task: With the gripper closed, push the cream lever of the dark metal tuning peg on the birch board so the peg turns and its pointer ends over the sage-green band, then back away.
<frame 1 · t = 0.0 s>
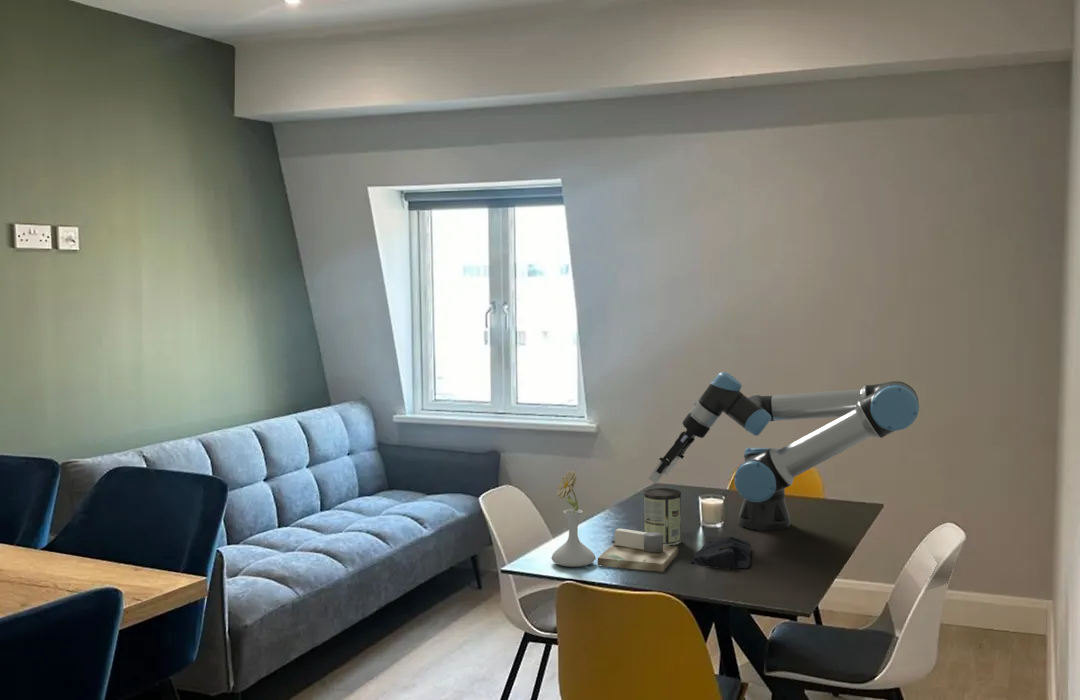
hand: (657, 476, 293), 15 cm above the table, tool tilted 35°, fingers open, 13 cm apart
flower in vase: (573, 566, 256), on the table
peg: (637, 539, 263), point 4 cm above the table, hinge at -15.0°
board: (638, 559, 260), on the table
dark slate chunk: (724, 559, 262), on the table
coffee can: (662, 542, 278), on the table
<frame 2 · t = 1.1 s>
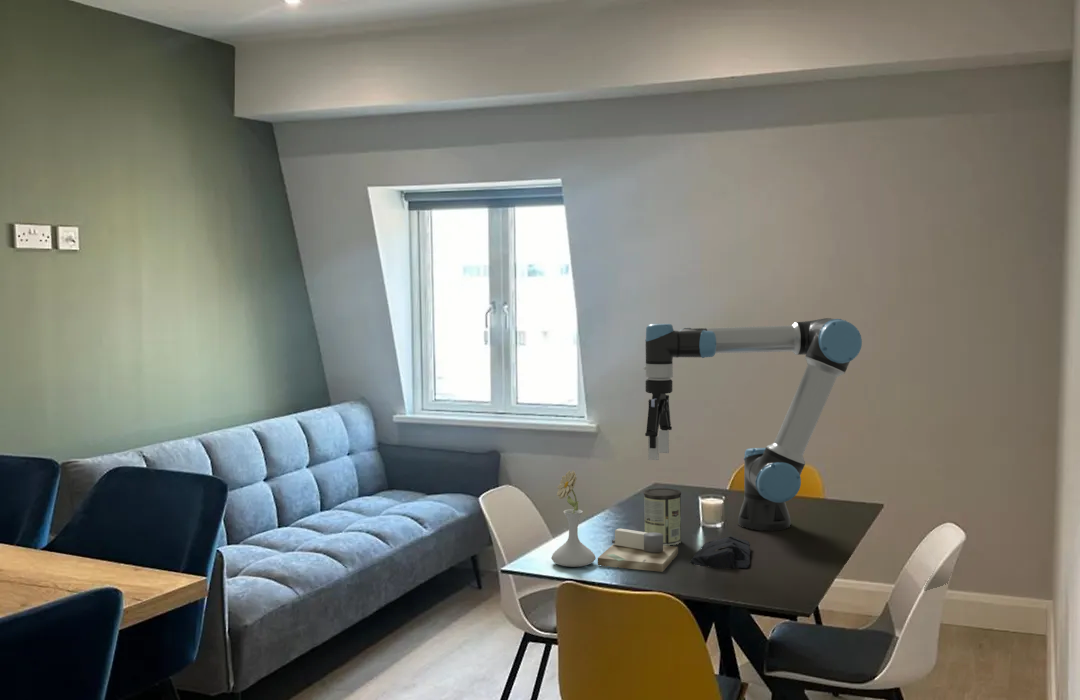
hand: (658, 456, 281), 23 cm above the table, tool pointing down, fingers open, 11 cm apart
nothing on the table moved.
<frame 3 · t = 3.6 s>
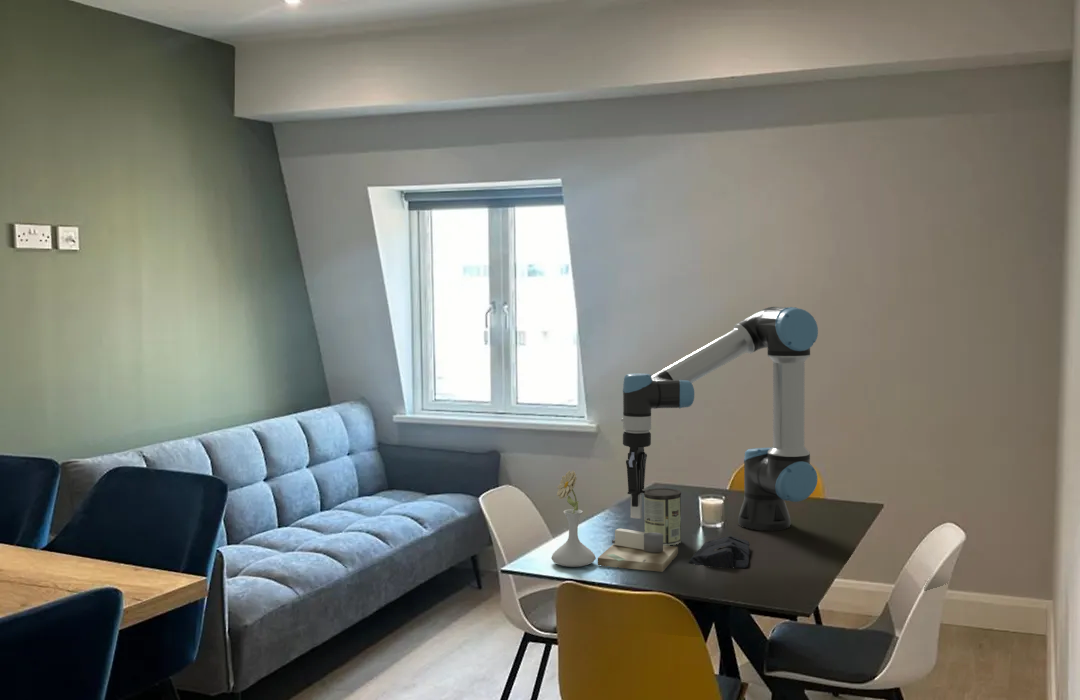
hand: (636, 517, 270), 9 cm above the table, tool pointing down, fingers closed
nothing on the table moved.
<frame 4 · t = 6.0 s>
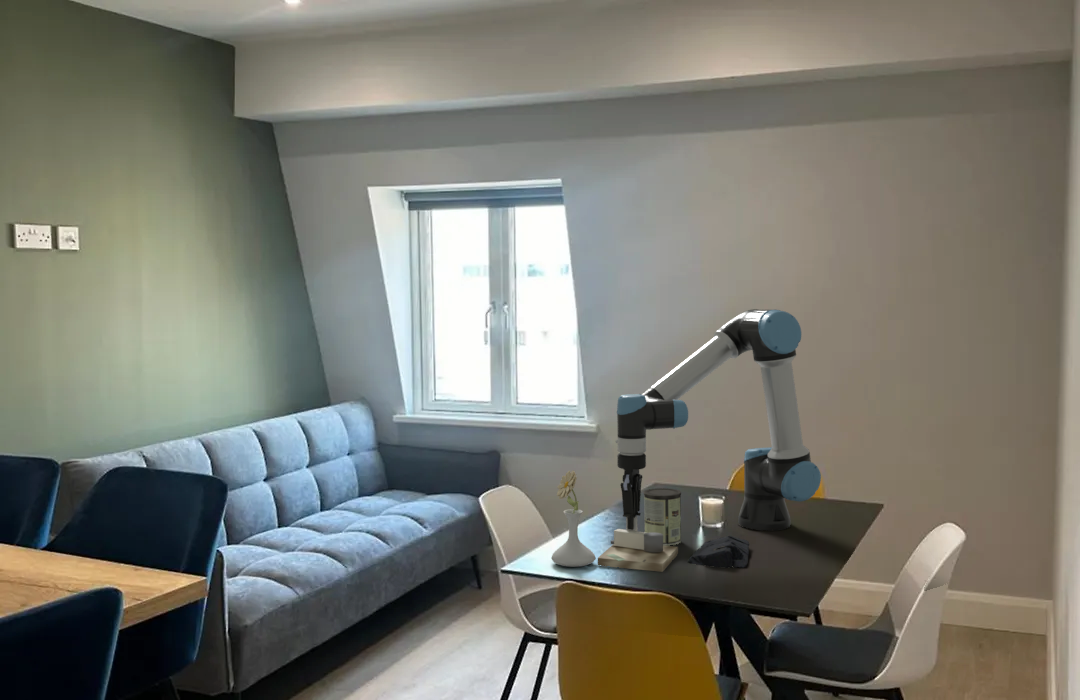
hand: (631, 540, 266), 4 cm above the table, tool pointing down, fingers closed
peg: (636, 540, 263), point 4 cm above the table, hinge at -11.5°, touching gripper
everything else where it was.
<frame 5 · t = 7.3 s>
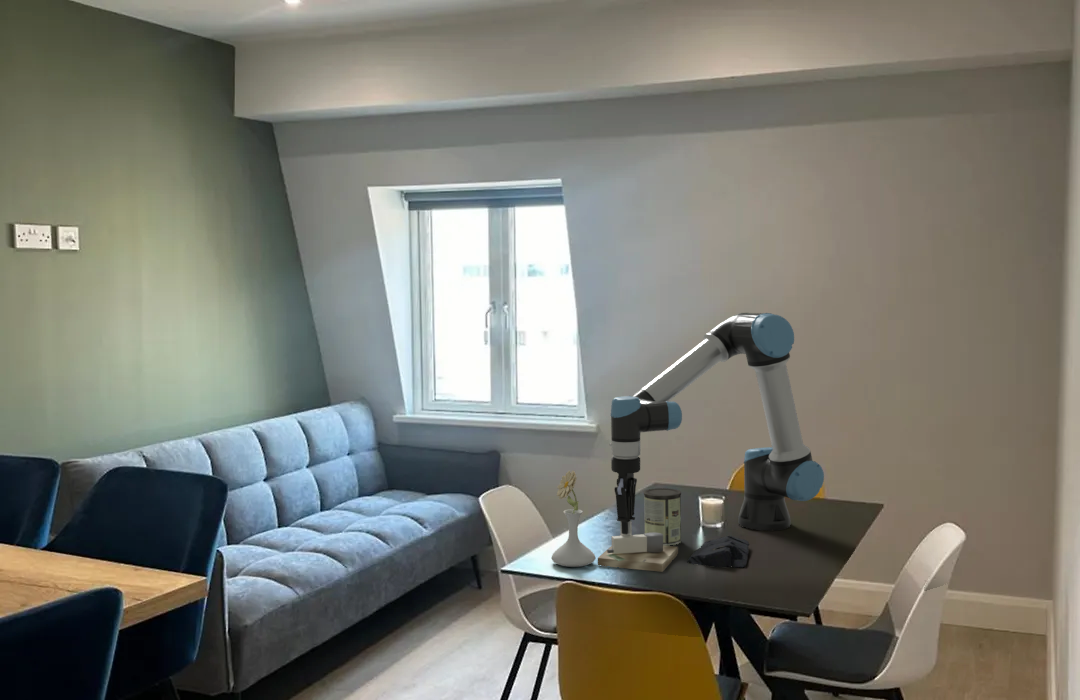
hand: (626, 545, 262), 4 cm above the table, tool pointing down, fingers closed
peg: (635, 543, 259), point 4 cm above the table, hinge at 32.4°, touching gripper
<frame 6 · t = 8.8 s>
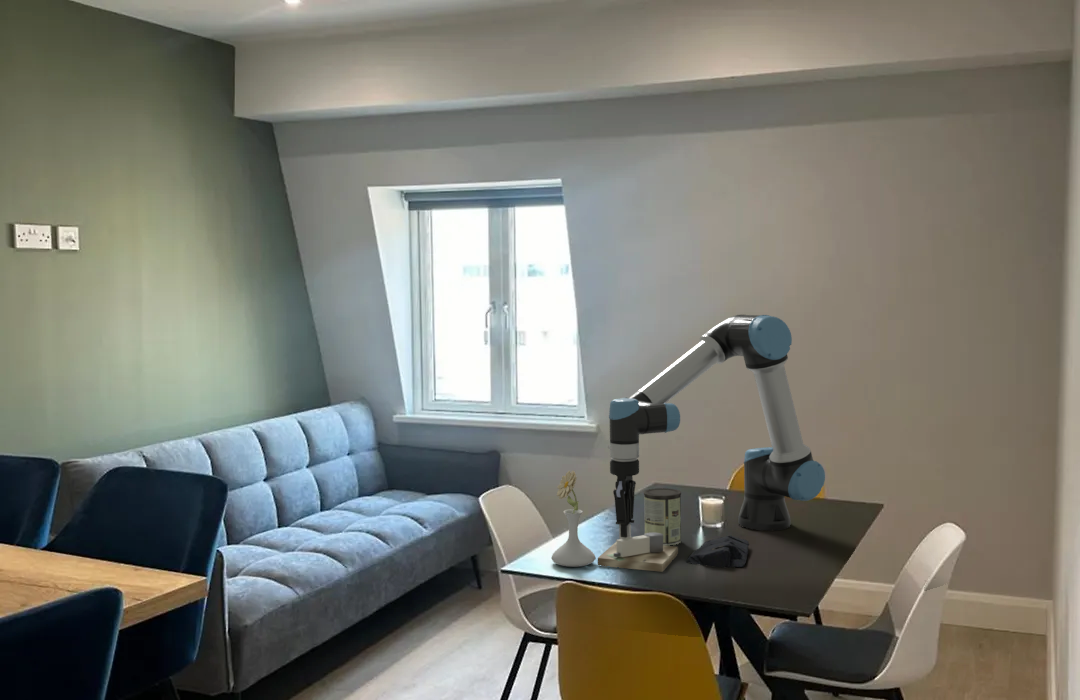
hand: (625, 548, 259), 3 cm above the table, tool pointing down, fingers closed
peg: (638, 545, 258), point 4 cm above the table, hinge at 51.9°, touching gripper
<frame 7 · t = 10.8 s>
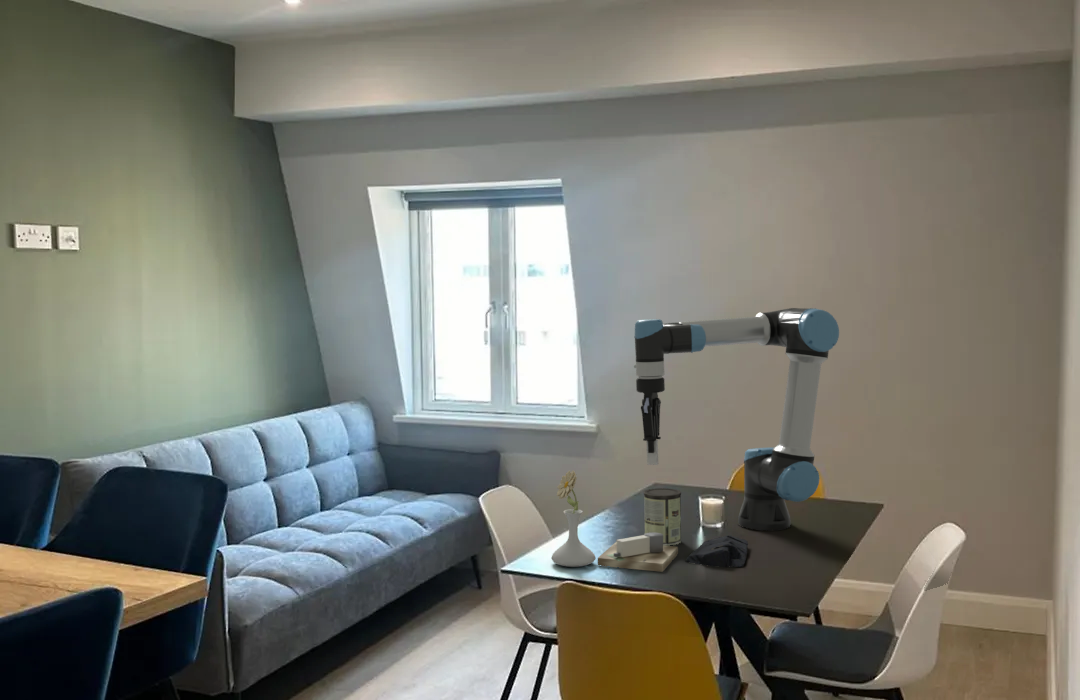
hand: (652, 464, 269), 23 cm above the table, tool pointing down, fingers closed
peg: (638, 545, 258), point 4 cm above the table, hinge at 52.0°
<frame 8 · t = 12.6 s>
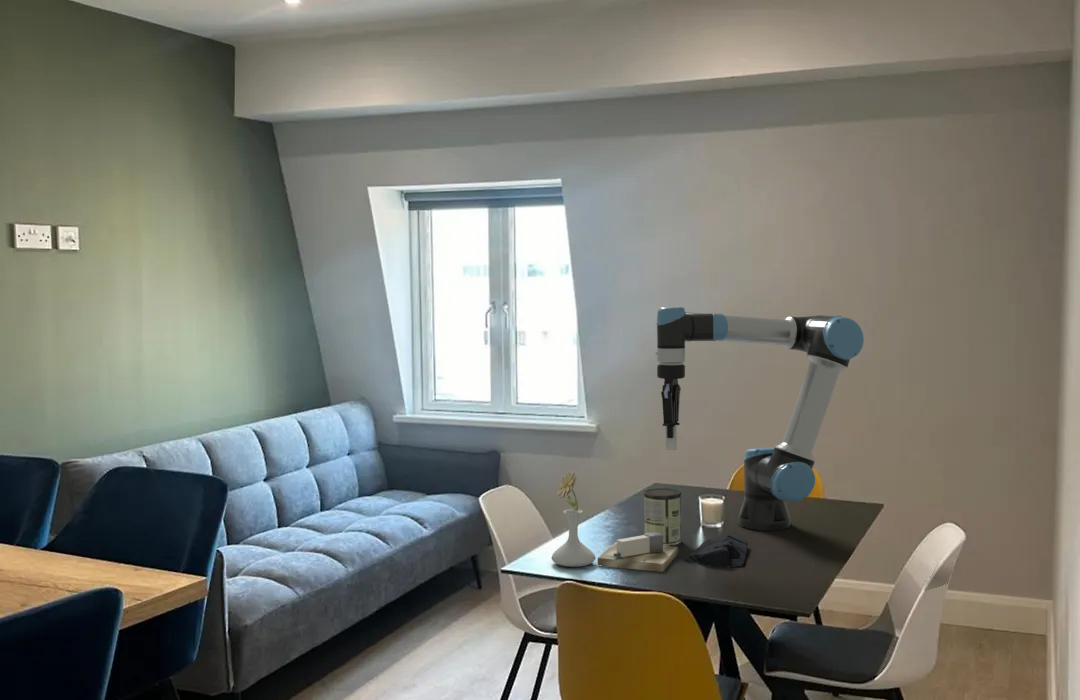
hand: (671, 449, 274), 26 cm above the table, tool pointing down, fingers closed
at the end: peg at +52° (first picture: -15°); peg touching nothing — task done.
